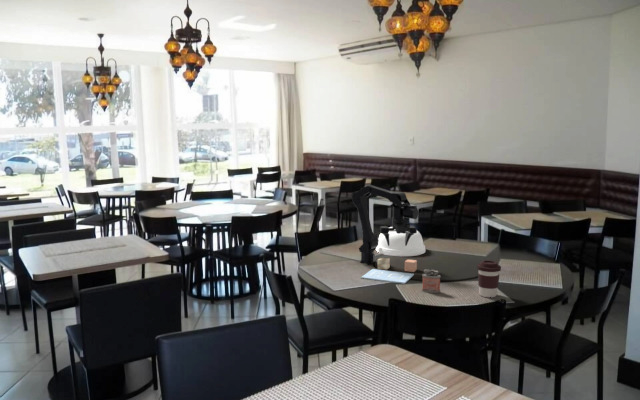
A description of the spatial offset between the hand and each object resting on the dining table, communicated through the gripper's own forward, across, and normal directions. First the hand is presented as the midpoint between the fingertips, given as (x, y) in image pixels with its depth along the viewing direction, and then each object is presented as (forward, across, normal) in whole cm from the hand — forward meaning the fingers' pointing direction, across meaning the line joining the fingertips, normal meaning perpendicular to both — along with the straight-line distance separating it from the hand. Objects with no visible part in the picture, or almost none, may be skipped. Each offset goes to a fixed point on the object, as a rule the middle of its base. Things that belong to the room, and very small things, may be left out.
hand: (397, 245), depth 273 cm
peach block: (+12, +6, -6) cm, 14 cm away
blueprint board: (+12, -8, -15) cm, 21 cm away
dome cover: (+13, +12, +38) cm, 42 cm away
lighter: (+11, +6, -40) cm, 42 cm away
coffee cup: (+10, +29, -49) cm, 58 cm away
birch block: (+12, -7, 0) cm, 14 cm away
